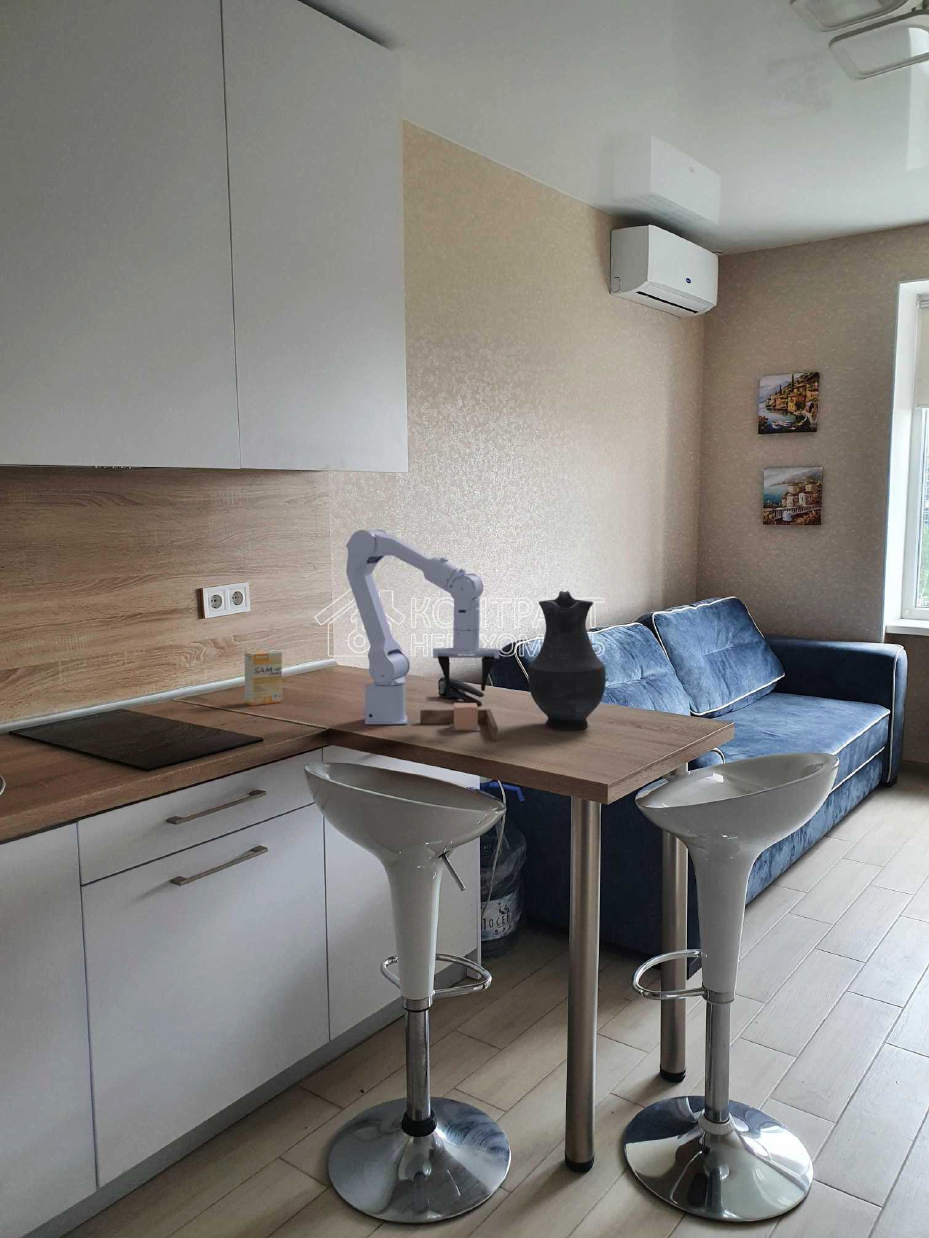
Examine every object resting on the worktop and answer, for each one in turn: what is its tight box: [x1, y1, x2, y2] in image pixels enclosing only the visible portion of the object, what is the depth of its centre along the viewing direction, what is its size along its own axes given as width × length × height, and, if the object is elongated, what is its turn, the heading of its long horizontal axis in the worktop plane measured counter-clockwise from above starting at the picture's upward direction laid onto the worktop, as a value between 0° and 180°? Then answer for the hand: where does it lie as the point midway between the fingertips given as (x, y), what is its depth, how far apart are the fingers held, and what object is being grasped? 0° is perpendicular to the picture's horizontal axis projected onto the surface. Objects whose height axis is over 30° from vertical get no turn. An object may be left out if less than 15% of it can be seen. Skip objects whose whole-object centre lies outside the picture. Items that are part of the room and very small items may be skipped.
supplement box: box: [244, 649, 283, 707], centre depth 232 cm, size 8×5×13 cm, turn 128°
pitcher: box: [527, 590, 607, 731], centre depth 209 cm, size 17×21×30 cm
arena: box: [419, 708, 499, 742], centre depth 203 cm, size 16×18×3 cm
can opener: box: [437, 676, 485, 707], centre depth 237 cm, size 18×7×6 cm, turn 34°
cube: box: [453, 702, 479, 730], centre depth 206 cm, size 5×5×5 cm
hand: (465, 690), depth 205 cm, fingers open, 7 cm apart
